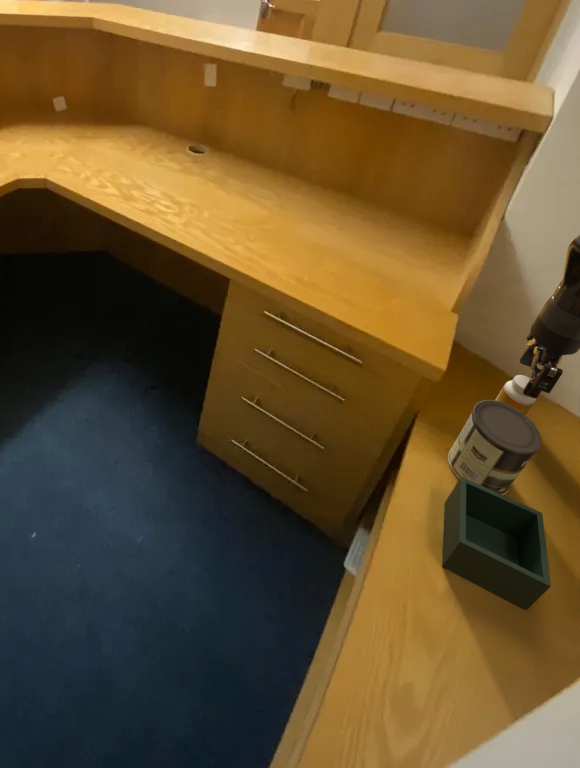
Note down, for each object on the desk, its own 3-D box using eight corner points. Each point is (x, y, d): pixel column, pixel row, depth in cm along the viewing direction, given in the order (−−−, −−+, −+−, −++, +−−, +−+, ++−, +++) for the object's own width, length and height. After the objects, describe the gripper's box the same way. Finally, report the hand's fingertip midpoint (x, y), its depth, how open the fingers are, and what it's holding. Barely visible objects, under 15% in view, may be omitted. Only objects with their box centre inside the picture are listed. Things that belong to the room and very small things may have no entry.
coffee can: (511, 464, 98) (543, 420, 90) (506, 509, 91) (540, 465, 83) (451, 433, 103) (477, 389, 96) (442, 474, 96) (469, 430, 89)
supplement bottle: (518, 429, 104) (538, 399, 99) (488, 411, 107) (506, 382, 102) (525, 413, 107) (545, 383, 102) (496, 396, 110) (514, 367, 105)
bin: (520, 538, 87) (542, 512, 82) (526, 611, 78) (550, 586, 74) (444, 502, 92) (461, 476, 87) (441, 566, 83) (460, 541, 78)
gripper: (597, 358, 86) (554, 415, 95) (583, 305, 97) (545, 361, 105) (544, 340, 89) (506, 397, 98) (536, 291, 100) (503, 347, 108)
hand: (527, 379), depth 102 cm, fingers open, 8 cm apart
